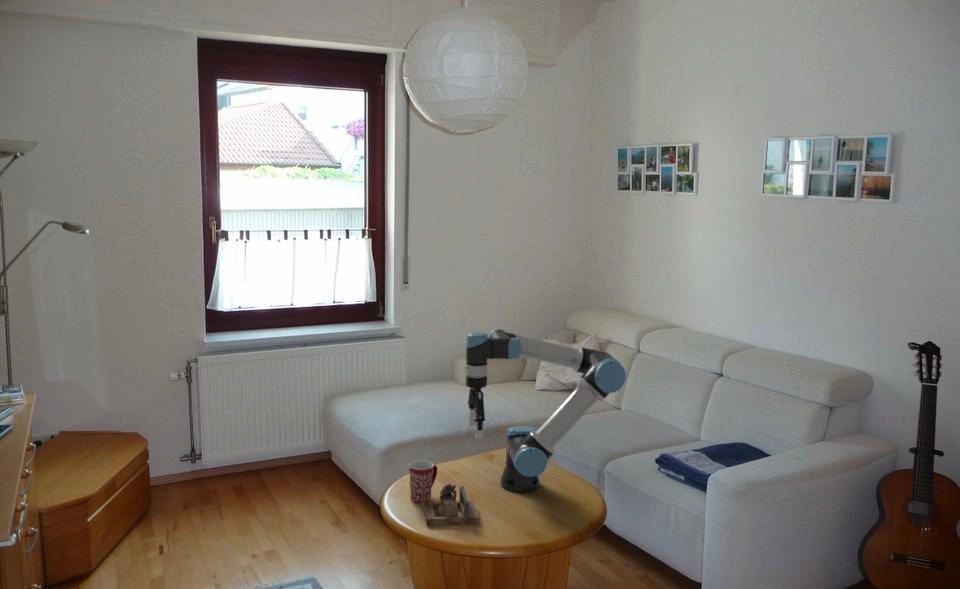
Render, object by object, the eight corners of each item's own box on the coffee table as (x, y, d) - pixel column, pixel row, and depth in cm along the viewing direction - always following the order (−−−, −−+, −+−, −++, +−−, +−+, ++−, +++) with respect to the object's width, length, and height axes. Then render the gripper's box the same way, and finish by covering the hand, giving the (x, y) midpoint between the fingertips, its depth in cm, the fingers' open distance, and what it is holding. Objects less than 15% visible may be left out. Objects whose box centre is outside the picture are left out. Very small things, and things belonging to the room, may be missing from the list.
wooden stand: (473, 507, 287) (473, 486, 286) (478, 524, 274) (479, 502, 272) (423, 508, 284) (423, 487, 283) (426, 526, 271) (427, 503, 270)
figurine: (444, 510, 284) (445, 478, 282) (461, 515, 280) (462, 482, 278) (433, 517, 278) (434, 484, 276) (450, 522, 274) (451, 489, 272)
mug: (420, 507, 286) (421, 471, 284) (403, 499, 292) (403, 464, 289) (444, 497, 295) (445, 462, 293) (427, 490, 301) (428, 455, 299)
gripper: (460, 367, 297) (460, 421, 301) (472, 385, 273) (471, 444, 276) (480, 366, 299) (479, 420, 302) (493, 384, 274) (492, 443, 278)
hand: (475, 432), depth 289 cm, fingers open, 13 cm apart
